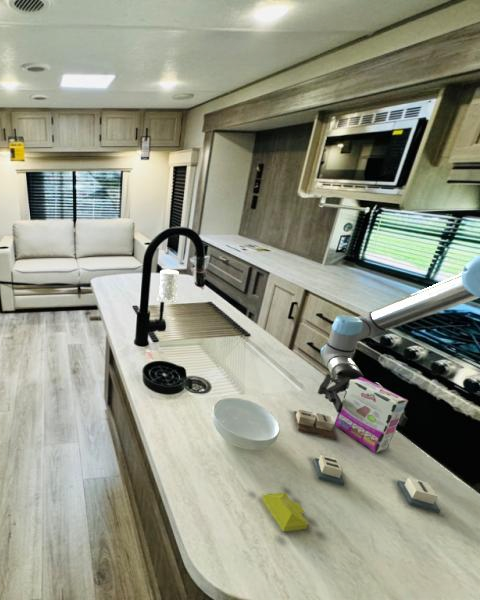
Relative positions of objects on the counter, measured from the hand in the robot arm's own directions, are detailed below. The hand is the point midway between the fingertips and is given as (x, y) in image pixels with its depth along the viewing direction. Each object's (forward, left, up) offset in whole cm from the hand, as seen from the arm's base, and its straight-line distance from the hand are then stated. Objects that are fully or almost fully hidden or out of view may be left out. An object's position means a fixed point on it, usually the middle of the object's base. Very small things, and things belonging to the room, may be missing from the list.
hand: (371, 415), depth 84 cm
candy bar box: (0, -2, -9) cm, 9 cm away
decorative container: (+68, -92, -9) cm, 115 cm away
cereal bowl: (+31, +11, -9) cm, 34 cm away
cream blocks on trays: (+3, +16, -9) cm, 18 cm away
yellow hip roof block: (+23, +32, -9) cm, 40 cm away
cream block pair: (+11, -2, -9) cm, 14 cm away
